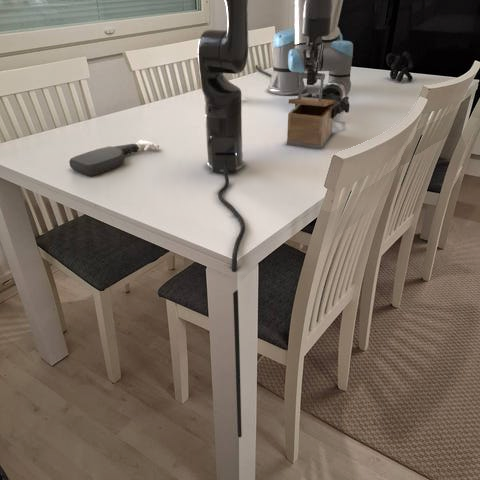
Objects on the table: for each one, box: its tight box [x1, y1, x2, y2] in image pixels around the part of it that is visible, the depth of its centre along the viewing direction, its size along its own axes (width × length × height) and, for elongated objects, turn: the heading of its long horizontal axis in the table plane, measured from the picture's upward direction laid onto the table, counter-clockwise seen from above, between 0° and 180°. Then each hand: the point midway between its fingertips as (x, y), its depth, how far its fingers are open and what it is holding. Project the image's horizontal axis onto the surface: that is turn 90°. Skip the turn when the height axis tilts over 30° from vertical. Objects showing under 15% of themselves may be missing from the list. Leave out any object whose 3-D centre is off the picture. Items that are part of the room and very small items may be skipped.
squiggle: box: [385, 51, 414, 83], centre depth 198 cm, size 11×10×15 cm
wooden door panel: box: [287, 72, 335, 107], centre depth 129 cm, size 15×10×8 cm
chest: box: [286, 104, 335, 150], centre depth 134 cm, size 14×10×9 cm
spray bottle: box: [68, 139, 160, 177], centre depth 124 cm, size 3×11×24 cm
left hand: (311, 83), depth 126 cm, fingers closed on wooden door panel
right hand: (315, 112), depth 136 cm, fingers closed on chest, 10 cm apart
